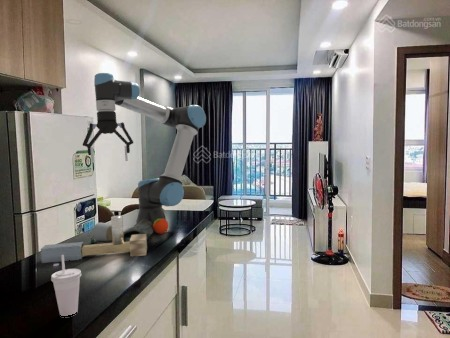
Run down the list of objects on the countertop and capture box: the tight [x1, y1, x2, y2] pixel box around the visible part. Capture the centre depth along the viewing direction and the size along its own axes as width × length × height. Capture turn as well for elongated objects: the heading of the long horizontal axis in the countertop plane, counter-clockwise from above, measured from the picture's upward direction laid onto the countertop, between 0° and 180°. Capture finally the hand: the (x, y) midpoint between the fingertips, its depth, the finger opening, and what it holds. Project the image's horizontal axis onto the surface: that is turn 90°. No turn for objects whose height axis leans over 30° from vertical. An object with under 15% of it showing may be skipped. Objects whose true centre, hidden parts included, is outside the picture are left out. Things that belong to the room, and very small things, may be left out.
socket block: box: [129, 234, 148, 257], centre depth 125 cm, size 6×9×6 cm, turn 11°
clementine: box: [152, 218, 169, 235], centre depth 152 cm, size 8×7×7 cm
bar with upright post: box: [81, 215, 130, 257], centre depth 123 cm, size 23×4×13 cm, turn 101°
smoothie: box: [50, 255, 82, 317], centre depth 78 cm, size 6×6×14 cm
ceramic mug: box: [92, 222, 112, 243], centre depth 145 cm, size 11×8×8 cm
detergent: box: [123, 219, 154, 242], centre depth 146 cm, size 13×7×25 cm
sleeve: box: [40, 241, 85, 264], centre depth 120 cm, size 13×5×5 cm, turn 101°
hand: (110, 162), depth 142 cm, fingers open, 13 cm apart
